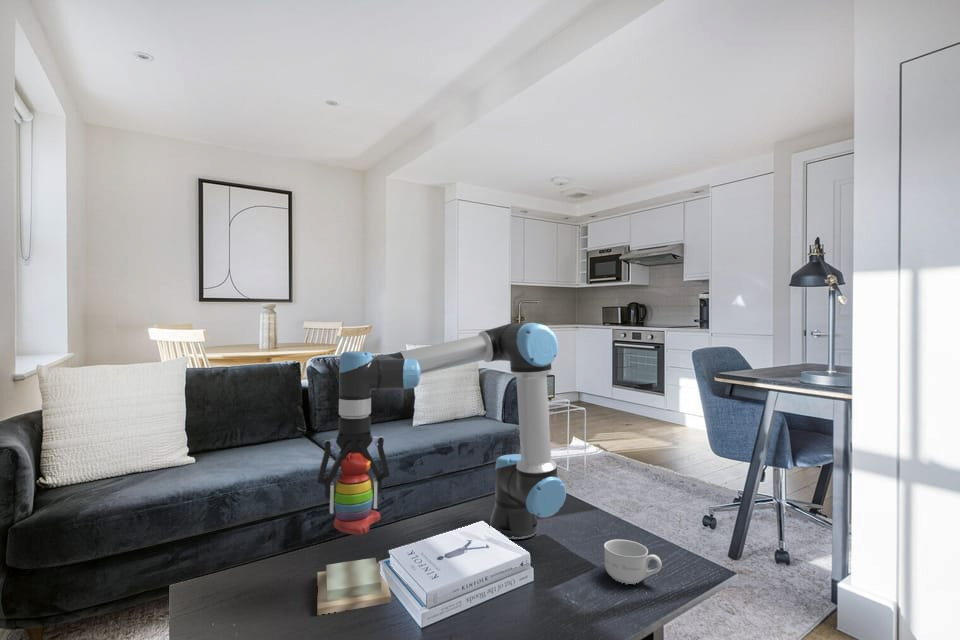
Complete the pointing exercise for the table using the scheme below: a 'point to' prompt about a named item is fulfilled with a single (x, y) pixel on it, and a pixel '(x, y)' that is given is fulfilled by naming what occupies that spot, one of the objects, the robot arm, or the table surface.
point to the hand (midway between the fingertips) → (353, 508)
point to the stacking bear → (354, 496)
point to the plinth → (351, 601)
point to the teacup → (628, 561)
